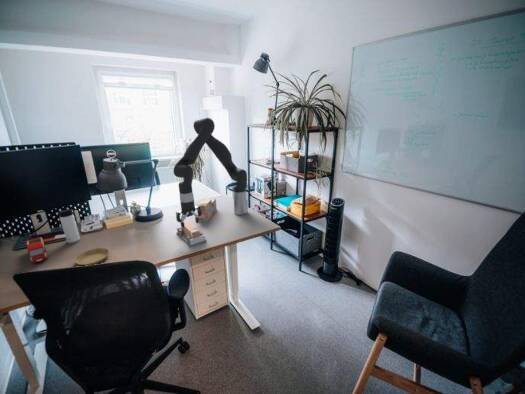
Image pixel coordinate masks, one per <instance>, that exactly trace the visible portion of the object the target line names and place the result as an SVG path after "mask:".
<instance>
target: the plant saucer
mask: <svg viewBox="0 0 525 394" xmlns="http://www.w3.org/2000/svg"><path fill="white" fill-rule="evenodd" d="M109 253H110V250H109V249H108V248H104V247H100V248H99V247H98V248H93V249H89V250H86V251H84V252H82V253H80V254H79V255H78V256H76V257H75V259H74V263H75V264H77V265H79V266H83V265H91V266H94V265H93V264H95V265H97V264H99V262H100V263H101V262H103V261H105V259H106V258H107V257H108V255H109ZM92 262H93V263H92ZM84 263H87V264H84Z"/></svg>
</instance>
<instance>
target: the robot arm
mask: <svg viewBox="0 0 525 394" xmlns="http://www.w3.org/2000/svg"><path fill="white" fill-rule="evenodd" d="M193 129H194V132H195V133H196V134H197V136H196V137H195V138H194V139H193V141H191V142H190V144H189V145H188V147H187V148H186V150H185V152H184V154H183V155H182V157H181V158H180V159H179V160H178V162H176V164H175V165H174V167H173V175H174V176H175V177H177V178H183V181H180V182H179V183H178V192H179V202H180V203H179V204H180V210H179V211H178V210H177V211H175V216H176V217H175V219H176V222H177V223H180V227H183V228H185V226H184V221H185V220H186V219H187V218H189V217H192V216H194V219H195V224H199V222H200V221H199V216H201V209H200V207H199V206H197V205H196V204H195V197H194V192H193V187H192V186H193V178H194V170H193V167H192V166H191V165H194V164H195V163H196V161H197V159H198V157H199V154H200V153H201V150H202V149H203V147H204V145H205V144H206V145H207V147H208V148H209V150H210V151H212V153H213V155H215V157H216V158H217V160H218V161H219V162H220V164H221V165H222V166H223V167H224V169H225V170H226V172H227V174H228V175H229V177H230V179H231V180H232V181H235V182H236V185H234V186H233V187H232V193H233V211H234V214H235V215H236V216H244V215H246V214H247V213H249V208H248V206H249V205H248V202H249V201H248V200H247V187H248V173H247V171H246V170H245V169H242V168H239V167H237V166H236V165H235V163H234V162H233V159H232V158H233V157H232V153H231V152H230V150H229V148H228V147H227V145H225V144H224V142H222V141H221V140H219V139H218V138H216V137H215V136H214V135H213V132H214V130H215V122H214V120H213V119H212V118H210V117H204V118H199V119H196V120H194V122H193ZM195 205H196V206H195ZM196 211H197V212H196Z"/></svg>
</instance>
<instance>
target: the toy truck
mask: <svg viewBox="0 0 525 394" xmlns="http://www.w3.org/2000/svg"><path fill="white" fill-rule="evenodd" d="M26 246H27V247H26V249H27V253H28V256H29V259H30V261H31V263H32V264H34V263H38V262H41V261H44V260H47V259H48V255H47V249H46V245H45V243H44V239H43V238H42V237H40V236H39V237H38V238H34V239H29V240H27V241H26Z"/></svg>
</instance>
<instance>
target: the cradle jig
mask: <svg viewBox="0 0 525 394" xmlns="http://www.w3.org/2000/svg"><path fill="white" fill-rule="evenodd" d="M176 234H177V236H179V238H181V240H182V241H184V242H185V243H186V244H187V245H188V246H189V247H190V248H192V247H194V246H197V245H199V244H203V243H205V242H207V240H208V239H206V235H205V234H204V233H203V232H201V231H200V236H199V237H196V238H193V239H191V238H190V237H189V236H186V235H185V234H184V233H183V232H182V227H181V226H177V227H176Z"/></svg>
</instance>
